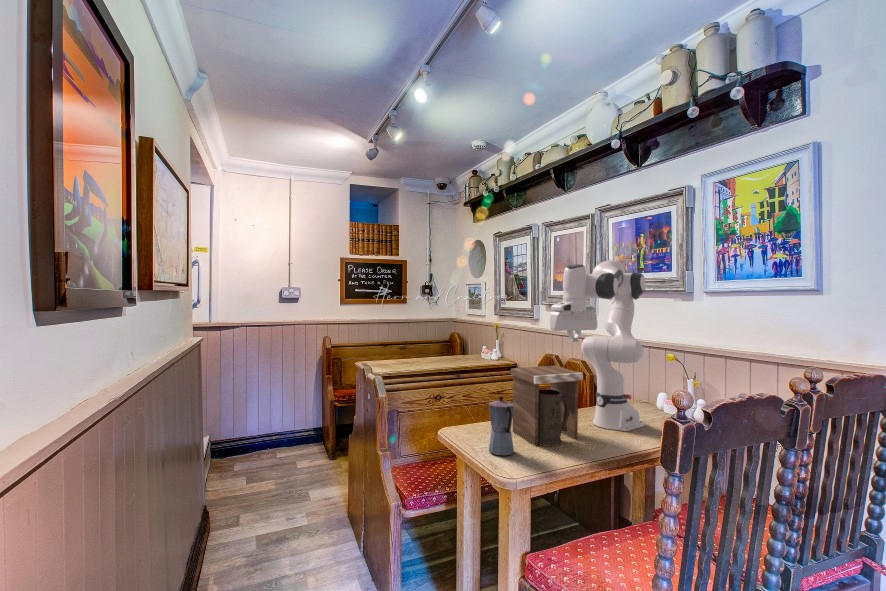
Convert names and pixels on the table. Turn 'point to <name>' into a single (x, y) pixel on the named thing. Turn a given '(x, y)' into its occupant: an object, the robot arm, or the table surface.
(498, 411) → the moka pot
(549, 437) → the beer stein
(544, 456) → the table surface
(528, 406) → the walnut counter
